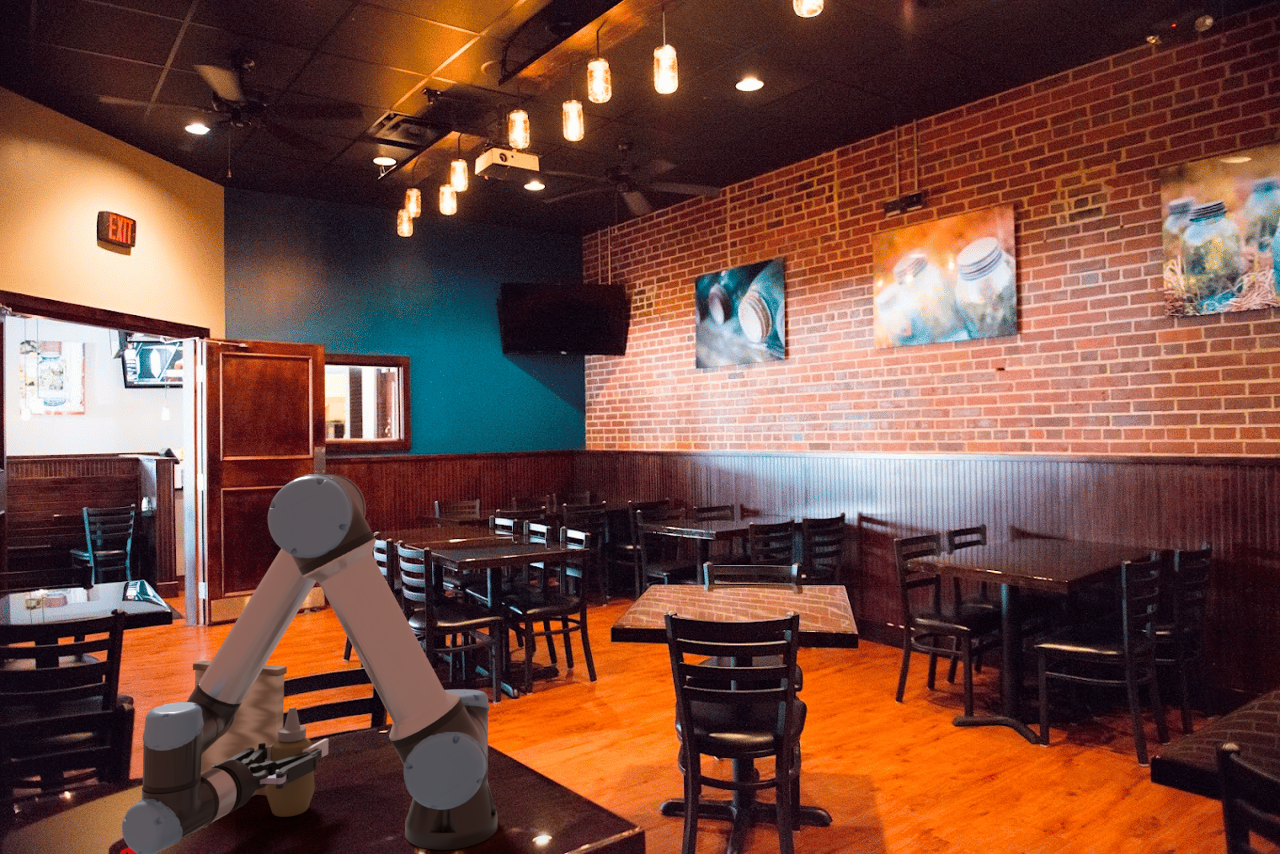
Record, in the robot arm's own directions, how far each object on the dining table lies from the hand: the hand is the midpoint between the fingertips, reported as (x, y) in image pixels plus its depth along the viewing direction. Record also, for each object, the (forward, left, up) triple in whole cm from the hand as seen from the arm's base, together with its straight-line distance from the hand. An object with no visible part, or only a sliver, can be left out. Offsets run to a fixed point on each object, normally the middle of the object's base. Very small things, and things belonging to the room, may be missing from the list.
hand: (309, 744), depth 157 cm
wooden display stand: (+12, +12, -10) cm, 19 cm away
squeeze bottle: (-3, +4, -10) cm, 11 cm away
